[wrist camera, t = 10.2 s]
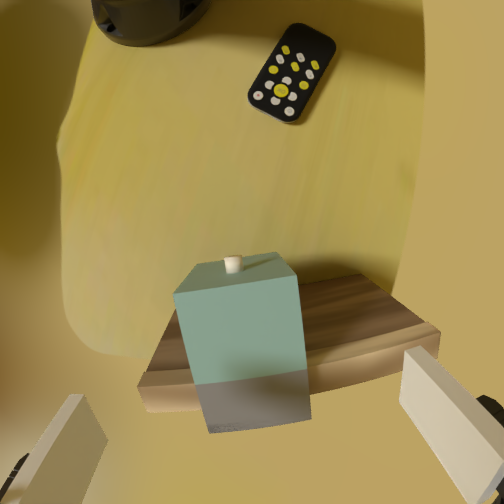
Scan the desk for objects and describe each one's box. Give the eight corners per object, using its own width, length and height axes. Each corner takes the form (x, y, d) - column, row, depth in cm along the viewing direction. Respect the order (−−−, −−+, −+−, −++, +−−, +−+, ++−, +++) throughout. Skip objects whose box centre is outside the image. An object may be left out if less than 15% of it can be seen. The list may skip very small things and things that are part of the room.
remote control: (337, 47, 31) (341, 41, 29) (291, 129, 33) (295, 125, 31) (291, 24, 30) (294, 16, 28) (242, 104, 32) (242, 99, 30)
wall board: (177, 301, 36) (137, 386, 19) (361, 272, 36) (440, 331, 19) (182, 320, 36) (147, 412, 19) (362, 291, 36) (437, 358, 20)
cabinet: (194, 253, 27) (169, 276, 17) (275, 240, 27) (294, 257, 17) (218, 367, 28) (209, 433, 18) (290, 356, 28) (311, 419, 19)
